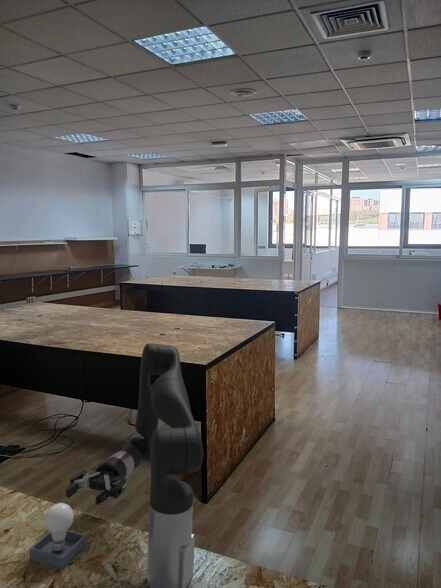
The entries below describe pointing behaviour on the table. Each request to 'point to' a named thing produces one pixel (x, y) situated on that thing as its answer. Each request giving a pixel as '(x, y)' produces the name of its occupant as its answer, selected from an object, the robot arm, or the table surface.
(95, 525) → the table surface
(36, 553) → the walled box
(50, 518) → the lightbulb
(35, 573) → the table surface
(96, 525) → the table surface
